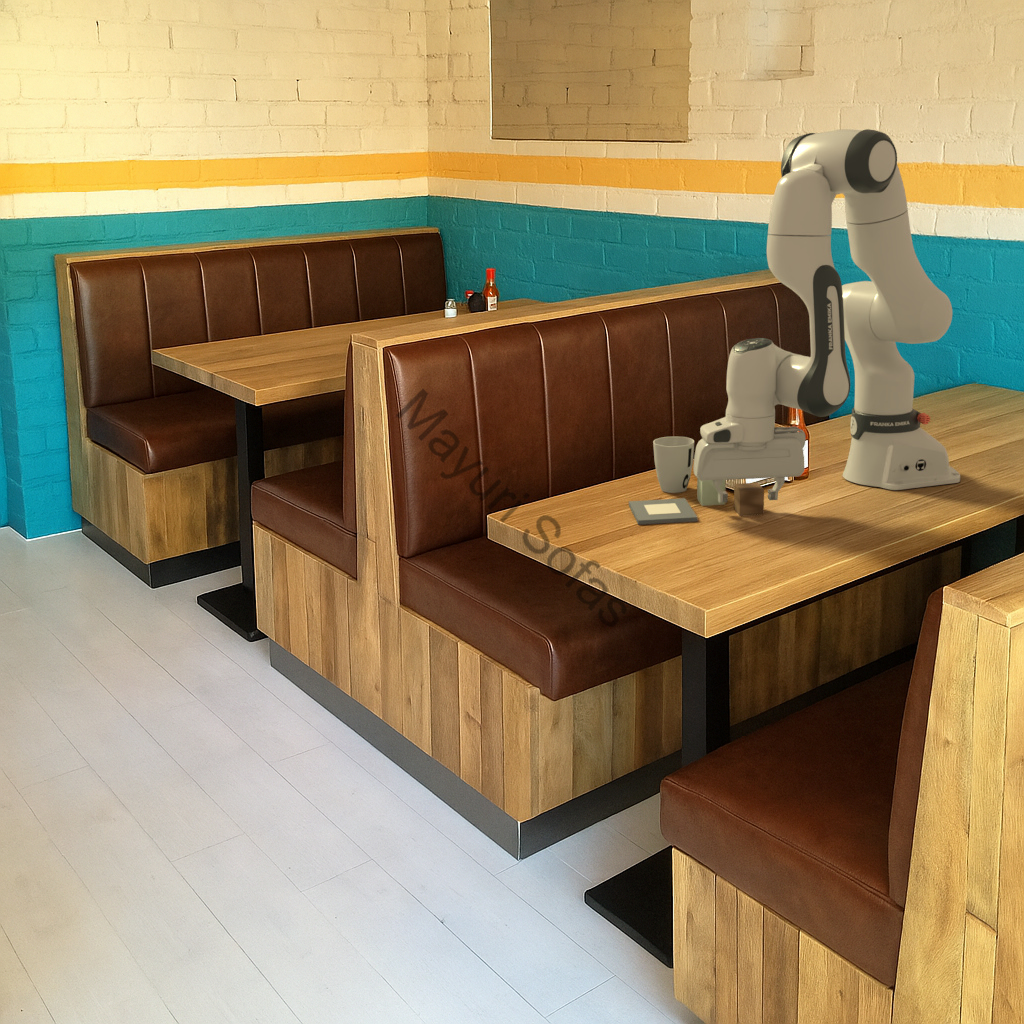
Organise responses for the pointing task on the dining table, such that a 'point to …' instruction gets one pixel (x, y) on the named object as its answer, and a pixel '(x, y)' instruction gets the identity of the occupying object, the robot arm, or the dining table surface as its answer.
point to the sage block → (708, 493)
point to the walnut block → (749, 499)
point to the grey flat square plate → (662, 511)
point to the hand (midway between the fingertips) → (747, 500)
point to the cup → (673, 462)
